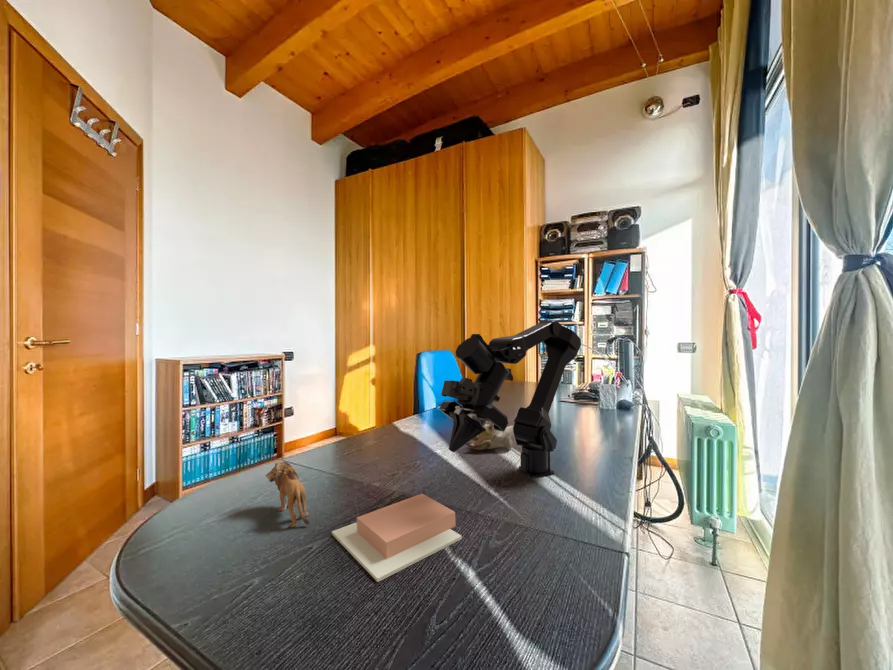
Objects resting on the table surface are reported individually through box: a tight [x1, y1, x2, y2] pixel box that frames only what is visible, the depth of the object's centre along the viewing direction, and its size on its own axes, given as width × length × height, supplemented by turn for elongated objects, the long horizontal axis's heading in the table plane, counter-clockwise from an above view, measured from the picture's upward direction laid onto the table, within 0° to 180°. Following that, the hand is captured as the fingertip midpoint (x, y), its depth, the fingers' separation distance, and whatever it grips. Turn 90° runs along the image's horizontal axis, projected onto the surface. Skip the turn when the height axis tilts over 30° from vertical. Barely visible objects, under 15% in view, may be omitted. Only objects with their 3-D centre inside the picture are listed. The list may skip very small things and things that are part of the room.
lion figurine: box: [265, 460, 311, 528], centre depth 70 cm, size 15×5×9 cm, turn 47°
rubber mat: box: [331, 521, 463, 583], centre depth 61 cm, size 16×16×1 cm
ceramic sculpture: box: [466, 422, 516, 451], centre depth 108 cm, size 11×9×15 cm
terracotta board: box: [356, 493, 456, 559], centre depth 63 cm, size 2×10×14 cm
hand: (451, 450), depth 72 cm, fingers closed
